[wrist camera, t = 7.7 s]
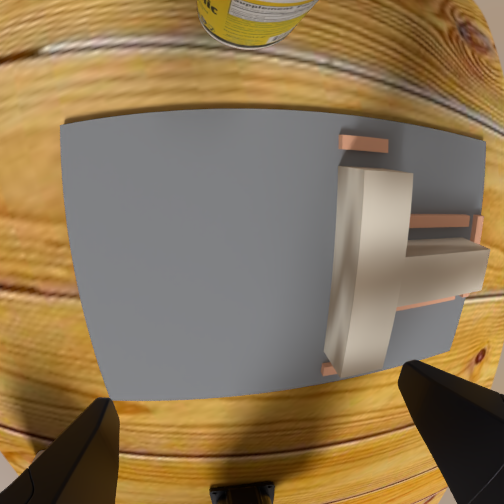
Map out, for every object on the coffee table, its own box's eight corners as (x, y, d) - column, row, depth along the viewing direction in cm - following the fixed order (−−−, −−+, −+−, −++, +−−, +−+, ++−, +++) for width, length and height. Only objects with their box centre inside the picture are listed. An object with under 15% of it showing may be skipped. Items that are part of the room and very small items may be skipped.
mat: (446, 348, 24) (452, 353, 23) (111, 396, 19) (109, 404, 19) (482, 141, 18) (490, 142, 17) (63, 125, 14) (56, 124, 13)
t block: (443, 325, 22) (465, 343, 19) (323, 351, 20) (340, 378, 18) (469, 177, 18) (498, 183, 16) (338, 165, 17) (364, 169, 14)
